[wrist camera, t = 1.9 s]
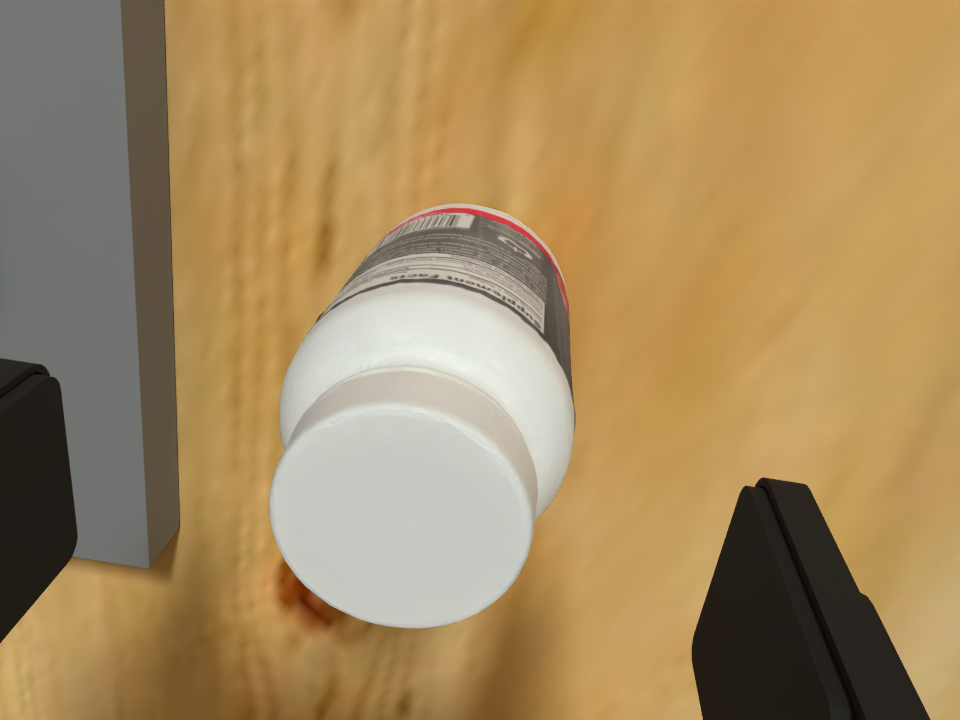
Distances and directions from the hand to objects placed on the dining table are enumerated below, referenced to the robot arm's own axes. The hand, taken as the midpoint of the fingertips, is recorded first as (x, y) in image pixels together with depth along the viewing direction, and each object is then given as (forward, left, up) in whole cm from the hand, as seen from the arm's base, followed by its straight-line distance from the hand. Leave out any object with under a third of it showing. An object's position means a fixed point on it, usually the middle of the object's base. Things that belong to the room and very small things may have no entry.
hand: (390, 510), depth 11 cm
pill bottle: (-1, 0, -11) cm, 11 cm away
